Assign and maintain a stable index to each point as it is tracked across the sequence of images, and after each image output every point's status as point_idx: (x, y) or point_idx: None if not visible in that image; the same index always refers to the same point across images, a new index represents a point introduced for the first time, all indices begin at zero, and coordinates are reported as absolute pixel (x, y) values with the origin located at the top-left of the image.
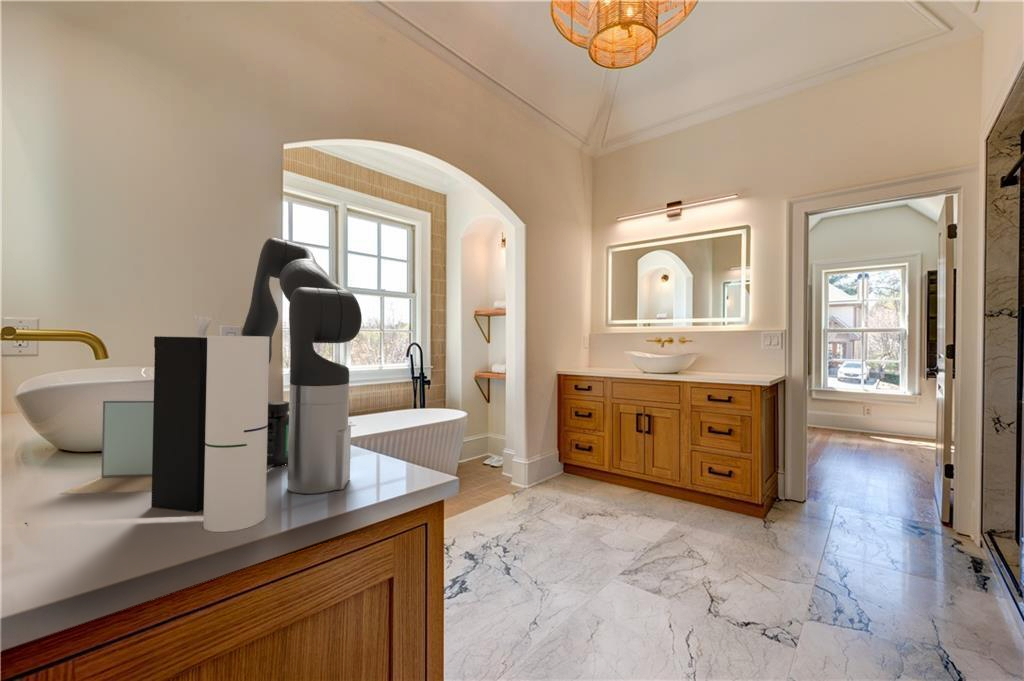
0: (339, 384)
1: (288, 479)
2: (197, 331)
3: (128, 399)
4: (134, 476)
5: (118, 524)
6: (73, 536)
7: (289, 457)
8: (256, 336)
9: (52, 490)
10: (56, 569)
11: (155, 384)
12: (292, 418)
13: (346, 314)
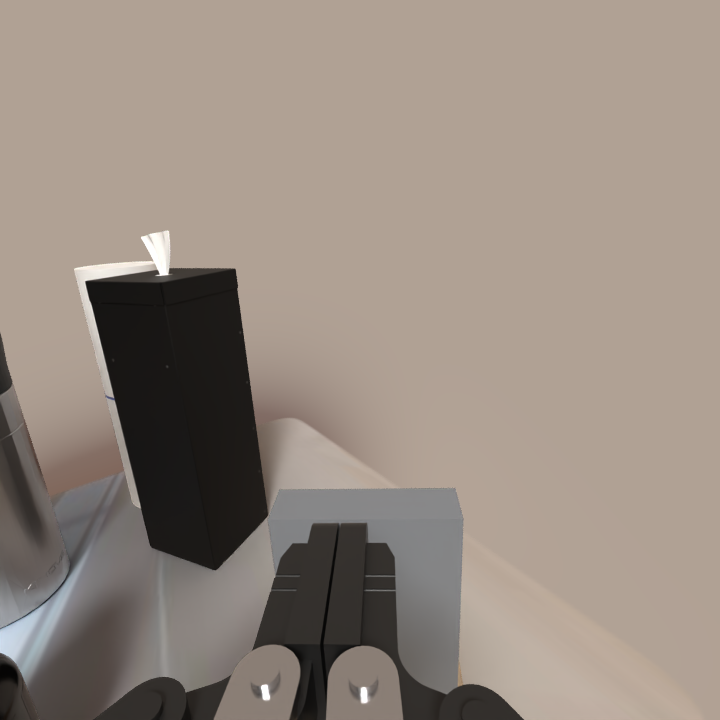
0: None
1: (64, 553)
2: (169, 263)
3: (409, 509)
4: None
5: None
6: (319, 474)
7: (54, 515)
8: (101, 264)
9: (501, 614)
10: (296, 439)
11: (242, 346)
12: (32, 444)
13: None
